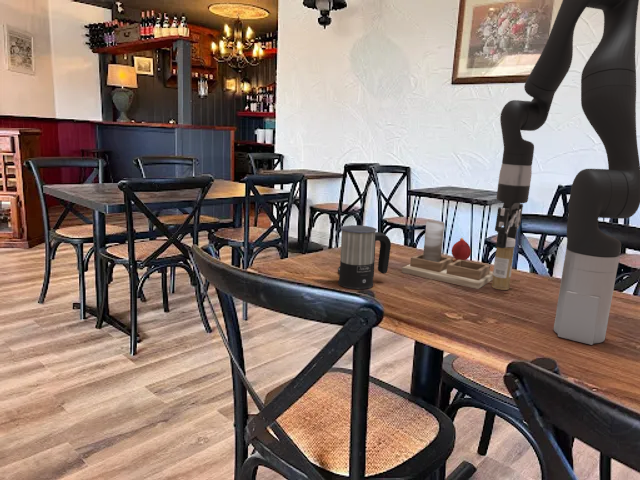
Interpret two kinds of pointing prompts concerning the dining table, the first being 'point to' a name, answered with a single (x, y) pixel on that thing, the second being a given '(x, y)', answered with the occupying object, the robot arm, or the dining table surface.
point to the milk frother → (361, 256)
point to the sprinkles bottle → (503, 265)
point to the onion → (461, 250)
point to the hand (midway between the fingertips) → (505, 245)
